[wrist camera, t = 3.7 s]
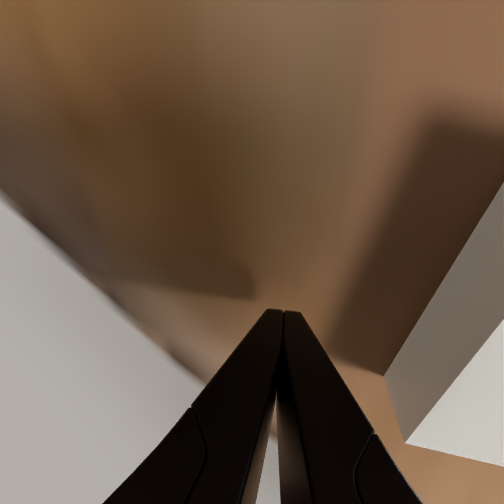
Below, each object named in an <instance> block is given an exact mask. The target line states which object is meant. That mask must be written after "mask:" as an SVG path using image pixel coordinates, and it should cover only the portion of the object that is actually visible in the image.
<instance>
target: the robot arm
mask: <svg viewBox="0 0 504 504" xmlns="http://www.w3.org/2000/svg"><path fill="white" fill-rule="evenodd" d="M276 392H277V395H276ZM275 400H276V412H277V434H278V455H279V476H280V498H281V504H423V503H422V501H421V500H420V499H419V497H418V496H417V494H416V493H415V492H414V490H413V489H412V487H411V486H410V485H409V483H408V482H407V480H406V479H405V477H404V476H403V474H402V472H401V471H400V469H399V468H398V466H397V465H396V463H395V462H394V460H393V459H392V457H391V456H390V454H389V453H388V451H387V449H386V448H385V446H384V445H383V443H382V441H381V440H380V438H379V436H378V435H377V434H374V433H375V431H374V429H373V427H372V426H371V424H370V422H369V421H368V419H367V418H366V416H365V414H364V413H363V411H362V410H361V408H360V406H359V405H358V403H357V402H356V400H355V398H354V397H353V395H352V394H351V392H350V390H349V389H348V387H347V386H346V384H345V382H344V381H343V379H342V378H341V376H340V374H339V373H338V371H337V370H336V368H335V366H334V365H333V363H332V362H331V360H330V358H329V357H328V355H327V354H326V352H325V350H324V349H323V347H322V346H321V344H320V342H319V341H318V339H317V338H316V336H315V335H314V333H313V331H312V330H311V328H310V327H309V325H308V323H307V322H306V320H305V319H304V317H303V315H302V314H301V313H300V312H297V311H288V310H286V311H284V313H283V311H282V310H279V309H270V308H269V309H266V311H265V312H264V313H263V314H262V316H261V317H260V318H259V319H258V321H257V322H256V323H255V324H254V326H253V327H252V328H251V330H250V331H249V332H248V333H247V335H246V336H245V337H244V338H243V340H242V341H241V342H240V343H239V345H238V346H237V347H236V349H235V350H234V351H233V352H232V354H231V355H230V356H229V357H228V359H227V360H226V361H225V363H224V364H223V365H222V366H221V368H220V369H219V370H218V371H217V373H216V374H215V375H214V376H213V378H212V379H211V380H210V382H209V383H208V384H207V385H206V387H205V388H204V389H203V390H202V392H201V393H200V394H199V396H198V397H197V398H196V399H195V401H194V402H193V403H192V405H191V408H188V409H187V410H186V412H185V413H184V414H183V416H182V417H181V418H180V419H179V421H178V422H177V423H176V424H175V426H174V427H173V428H172V429H171V430H170V432H169V433H168V434H167V435H166V436H165V437H164V439H163V440H162V441H161V442H160V444H159V445H158V446H157V447H156V448H155V449H154V450H153V451H152V452H151V453H150V455H149V456H148V457H147V458H146V459H145V460H144V461H143V462H142V463H141V464H140V465H139V466H138V468H136V470H135V471H134V472H133V473H132V474H131V475H130V476H129V477H128V478H127V479H126V480H125V481H124V482H123V483H122V484H121V485H120V486H119V487H118V488H117V489H116V490H115V491H114V492H113V493H112V494H111V495H110V497H108V498H107V500H105V501H104V503H103V504H255V503H256V498H257V493H258V488H259V483H260V478H261V473H262V467H263V463H264V458H265V453H266V447H267V442H268V437H269V432H270V427H271V422H272V417H273V412H274V406H275Z"/></svg>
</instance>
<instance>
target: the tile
mask: <svg viewBox="0 0 504 504" xmlns="http://www.w3.org/2000/svg"><path fill="white" fill-rule="evenodd" d="M384 379H385V382H386V385H387V389H388V392H389V395H390V398H391V401H392V405H393V408H394V411H395V414H396V417H397V421H398V424H399V427H400V430H401V433H402V436H403V440H404V443H406V444H410V445H415V446H419V447H423V448H427V449H431V450H436V451H440V452H444V453H448V454H453V455H457V456H461V457H465V458H469V459H474V460H478V461H482V462H486V463H491V464H495V465H499V466H503V467H504V182H503V184H502V186H501V187H500V189H499V191H498V192H497V194H496V195H495V197H494V199H493V200H492V202H491V203H490V205H489V207H488V208H487V210H486V212H485V213H484V215H483V216H482V218H481V220H480V221H479V223H478V224H477V226H476V228H475V229H474V231H473V233H472V234H471V236H470V237H469V239H468V241H467V242H466V244H465V245H464V247H463V249H462V250H461V252H460V254H459V255H458V257H457V258H456V260H455V262H454V263H453V265H452V266H451V268H450V270H449V271H448V273H447V275H446V276H445V278H444V279H443V281H442V283H441V284H440V286H439V287H438V289H437V291H436V292H435V294H434V296H433V297H432V299H431V300H430V302H429V304H428V305H427V307H426V308H425V310H424V312H423V313H422V315H421V317H420V318H419V320H418V321H417V323H416V325H415V326H414V328H413V329H412V331H411V333H410V334H409V336H408V338H407V339H406V341H405V342H404V344H403V346H402V347H401V349H400V350H399V352H398V354H397V355H396V357H395V359H394V360H393V362H392V363H391V365H390V367H389V368H388V370H387V372H386V373H385V375H384Z"/></svg>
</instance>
